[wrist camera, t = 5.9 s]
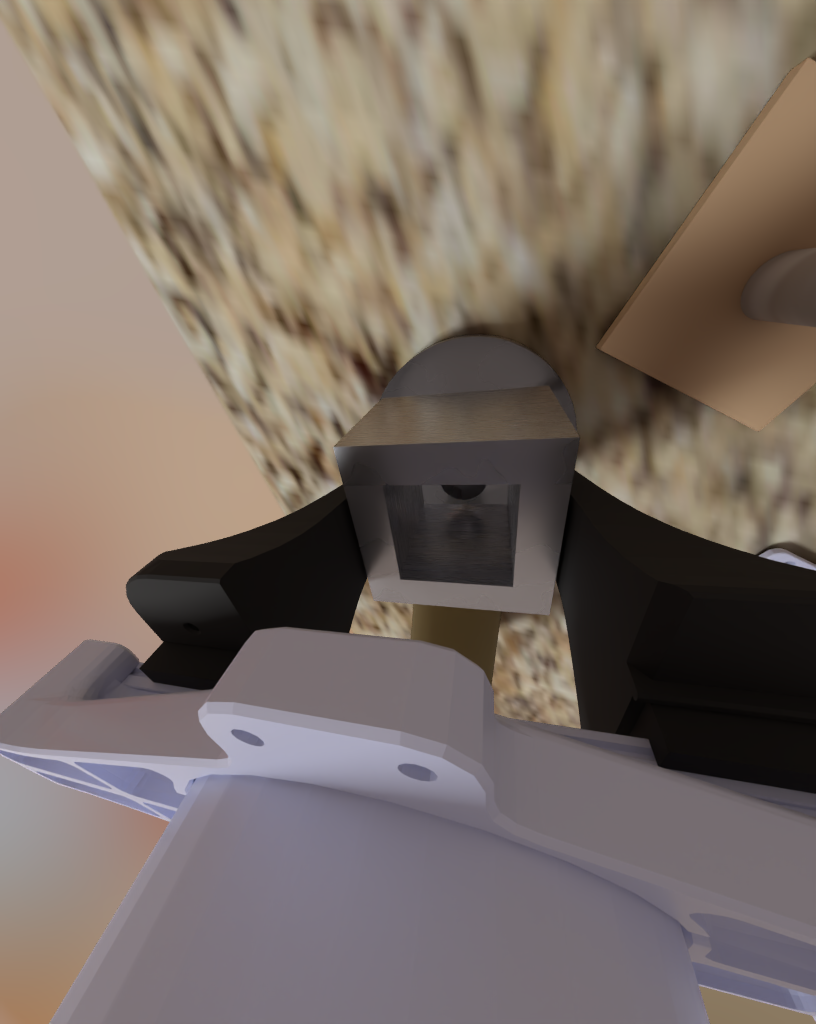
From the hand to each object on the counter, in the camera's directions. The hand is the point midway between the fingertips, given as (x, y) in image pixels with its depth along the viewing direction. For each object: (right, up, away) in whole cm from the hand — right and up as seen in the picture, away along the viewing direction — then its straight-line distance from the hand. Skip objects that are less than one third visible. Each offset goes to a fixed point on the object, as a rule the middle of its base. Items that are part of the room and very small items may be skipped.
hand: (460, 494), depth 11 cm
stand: (+10, +7, -1) cm, 12 cm away
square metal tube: (0, +1, +1) cm, 2 cm away
